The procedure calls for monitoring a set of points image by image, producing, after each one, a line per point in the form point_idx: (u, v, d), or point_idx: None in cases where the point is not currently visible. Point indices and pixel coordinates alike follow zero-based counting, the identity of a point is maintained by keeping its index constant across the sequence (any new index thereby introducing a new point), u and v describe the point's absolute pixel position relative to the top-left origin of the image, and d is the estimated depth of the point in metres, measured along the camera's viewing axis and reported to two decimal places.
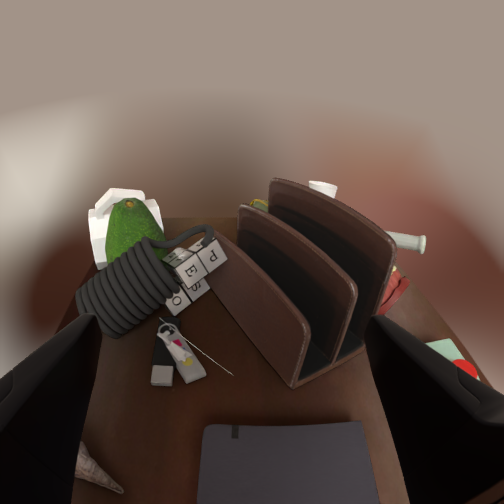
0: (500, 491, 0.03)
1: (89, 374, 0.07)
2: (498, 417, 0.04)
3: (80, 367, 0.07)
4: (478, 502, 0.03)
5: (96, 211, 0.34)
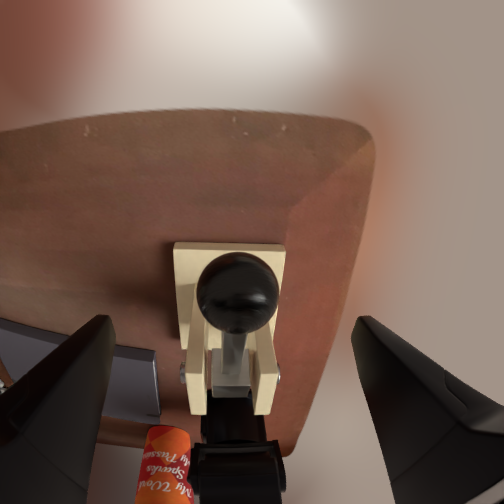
0: (487, 500, 0.03)
1: (104, 376, 0.07)
2: (485, 424, 0.04)
3: (95, 369, 0.07)
4: None
5: None
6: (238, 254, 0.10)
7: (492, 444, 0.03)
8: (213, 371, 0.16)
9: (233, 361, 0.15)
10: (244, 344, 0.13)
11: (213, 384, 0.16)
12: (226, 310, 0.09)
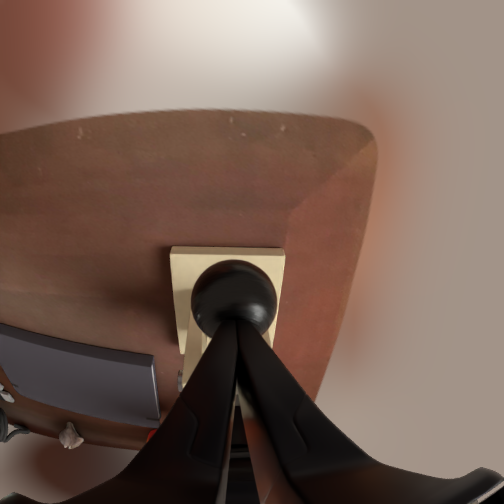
0: None
1: (236, 384, 0.08)
2: (316, 481, 0.04)
3: (236, 378, 0.07)
4: None
5: None
6: (233, 262, 0.10)
7: None
8: None
9: None
10: None
11: None
12: (221, 321, 0.09)
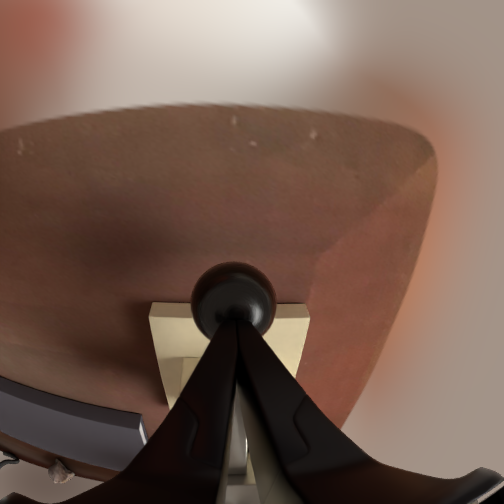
0: None
1: (236, 384, 0.08)
2: (316, 481, 0.04)
3: (236, 378, 0.07)
4: None
5: None
6: None
7: None
8: None
9: (235, 440, 0.10)
10: None
11: None
12: (221, 287, 0.09)
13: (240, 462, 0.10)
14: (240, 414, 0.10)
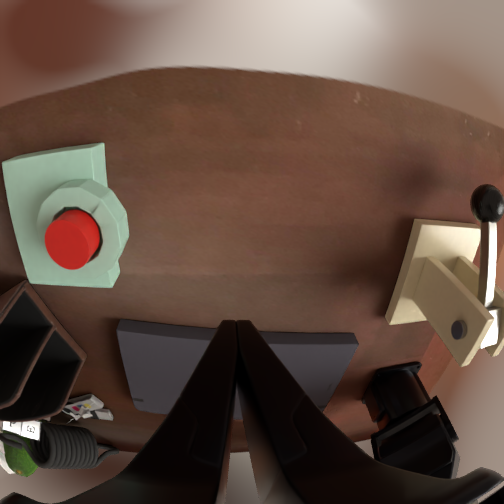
0: None
1: (236, 384, 0.08)
2: (316, 481, 0.04)
3: (236, 378, 0.07)
4: None
5: None
6: None
7: None
8: None
9: (491, 279, 0.17)
10: None
11: None
12: (494, 191, 0.16)
13: (491, 296, 0.17)
14: (494, 261, 0.17)
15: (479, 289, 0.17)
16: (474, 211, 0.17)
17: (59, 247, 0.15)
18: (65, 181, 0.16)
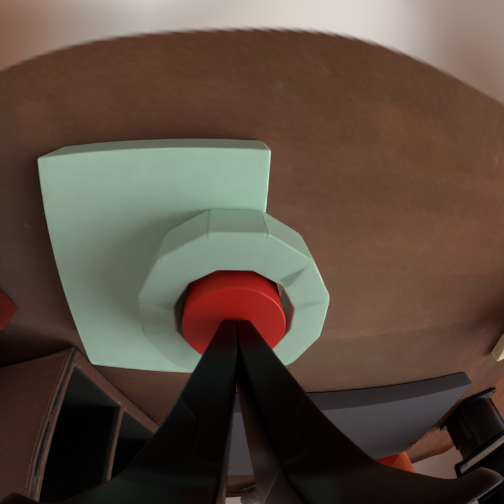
0: None
1: (236, 384, 0.08)
2: (316, 481, 0.04)
3: (236, 378, 0.07)
4: None
5: None
6: None
7: None
8: None
9: None
10: None
11: None
12: None
13: None
14: None
15: None
16: None
17: None
18: (198, 209, 0.09)
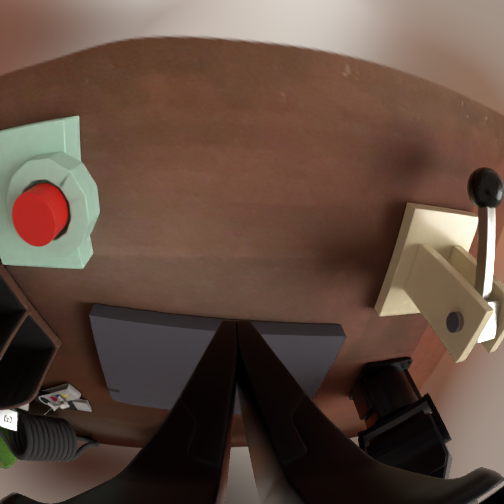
0: None
1: (236, 384, 0.08)
2: (316, 481, 0.04)
3: (236, 378, 0.07)
4: None
5: None
6: None
7: None
8: None
9: (490, 268, 0.16)
10: (494, 238, 0.15)
11: None
12: (493, 175, 0.14)
13: (489, 287, 0.16)
14: (492, 250, 0.15)
15: (476, 279, 0.16)
16: (471, 195, 0.16)
17: (26, 222, 0.13)
18: (37, 155, 0.14)
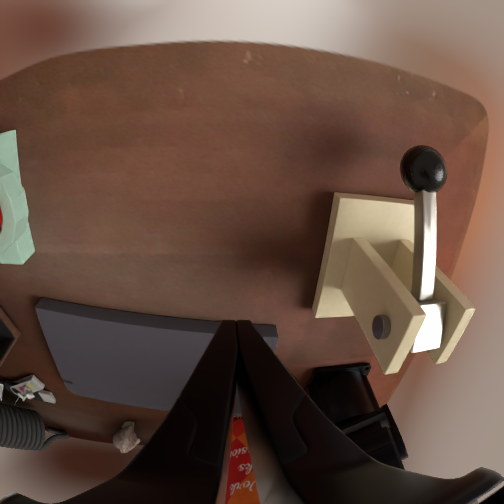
0: None
1: (236, 384, 0.08)
2: (316, 481, 0.04)
3: (236, 378, 0.07)
4: None
5: None
6: None
7: None
8: None
9: (430, 264, 0.15)
10: (436, 227, 0.15)
11: (419, 304, 0.14)
12: (428, 152, 0.14)
13: (430, 287, 0.15)
14: (433, 242, 0.15)
15: (413, 277, 0.16)
16: (403, 178, 0.15)
17: None
18: None
